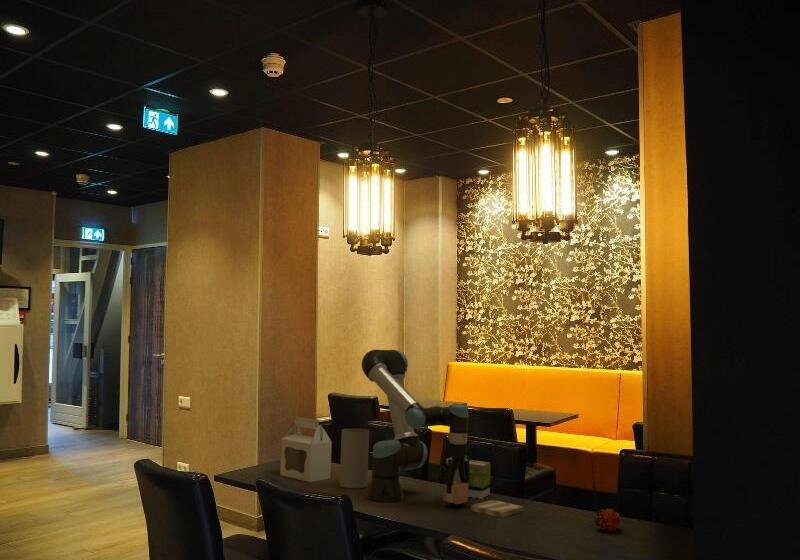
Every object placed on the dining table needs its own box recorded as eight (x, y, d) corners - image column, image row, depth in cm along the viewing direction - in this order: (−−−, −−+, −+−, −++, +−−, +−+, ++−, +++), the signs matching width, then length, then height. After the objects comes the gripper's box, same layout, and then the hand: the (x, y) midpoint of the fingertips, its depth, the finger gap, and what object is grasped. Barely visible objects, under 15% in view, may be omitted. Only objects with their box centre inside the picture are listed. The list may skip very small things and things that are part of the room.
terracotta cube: (443, 500, 273) (444, 483, 274) (454, 498, 278) (454, 480, 279) (457, 504, 268) (457, 486, 269) (467, 501, 273) (468, 484, 274)
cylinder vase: (366, 489, 299) (368, 432, 302) (338, 488, 300) (340, 431, 302) (368, 483, 312) (369, 429, 314) (341, 482, 312) (343, 428, 315)
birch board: (470, 510, 267) (470, 505, 267) (492, 504, 278) (492, 499, 278) (502, 517, 257) (502, 512, 257) (523, 511, 268) (523, 506, 268)
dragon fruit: (595, 537, 240) (614, 537, 247) (613, 527, 236) (632, 527, 243) (585, 514, 245) (603, 515, 252) (602, 503, 241) (621, 504, 248)
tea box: (449, 495, 293) (450, 460, 294) (458, 491, 302) (459, 457, 303) (482, 500, 286) (483, 464, 287) (490, 495, 295) (491, 461, 296)
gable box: (279, 475, 326) (282, 416, 329) (300, 471, 336) (303, 415, 339) (309, 482, 311) (312, 421, 314) (330, 478, 321) (333, 419, 324)
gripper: (449, 446, 265) (447, 505, 263) (480, 442, 280) (478, 498, 278) (435, 443, 270) (433, 502, 269) (465, 439, 285) (463, 494, 283)
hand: (456, 500), depth 273 cm, fingers closed on terracotta cube, 7 cm apart
